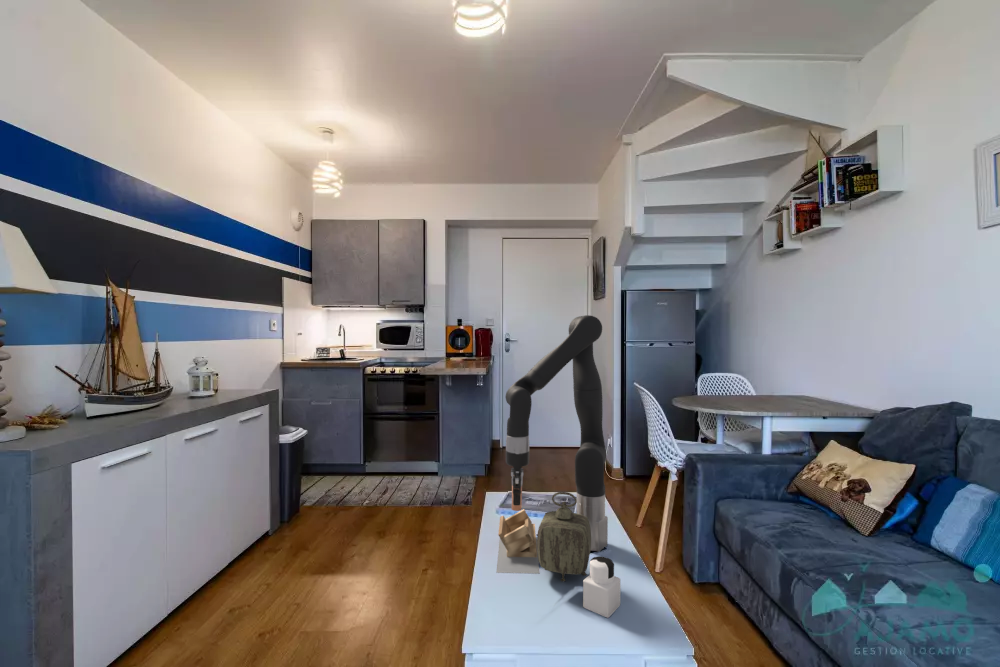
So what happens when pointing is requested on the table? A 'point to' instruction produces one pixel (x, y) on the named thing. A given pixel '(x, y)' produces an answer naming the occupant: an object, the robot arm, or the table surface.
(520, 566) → the board
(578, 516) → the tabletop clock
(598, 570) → the white blocky bust
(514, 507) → the peg
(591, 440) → the robot arm
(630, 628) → the table surface
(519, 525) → the socket
